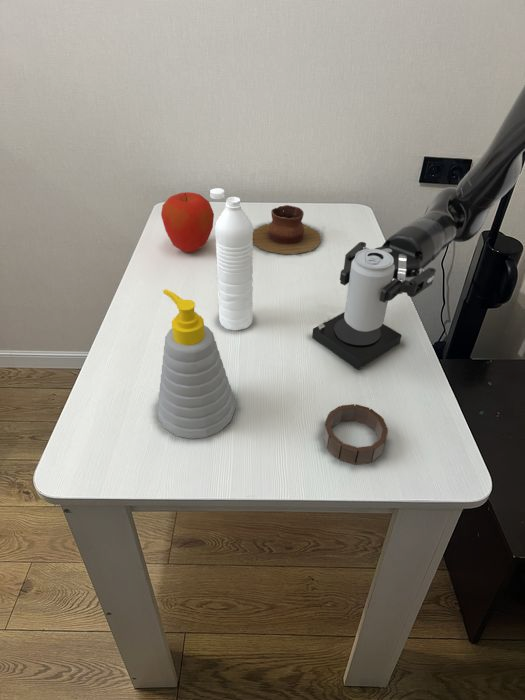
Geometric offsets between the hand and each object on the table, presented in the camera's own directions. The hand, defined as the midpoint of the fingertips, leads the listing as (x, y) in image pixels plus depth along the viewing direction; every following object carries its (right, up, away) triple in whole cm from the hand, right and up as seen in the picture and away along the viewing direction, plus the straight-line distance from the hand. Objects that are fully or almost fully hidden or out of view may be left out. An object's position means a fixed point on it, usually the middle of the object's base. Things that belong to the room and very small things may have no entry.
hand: (362, 287), depth 73 cm
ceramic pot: (-9, +19, +50) cm, 54 cm away
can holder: (-1, -23, 0) cm, 23 cm away
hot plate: (+3, -8, +19) cm, 20 cm away
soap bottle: (-25, -19, +5) cm, 32 cm away
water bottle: (-21, -3, +24) cm, 32 cm away
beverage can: (+1, -5, +7) cm, 8 cm away
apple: (-32, +15, +45) cm, 57 cm away
